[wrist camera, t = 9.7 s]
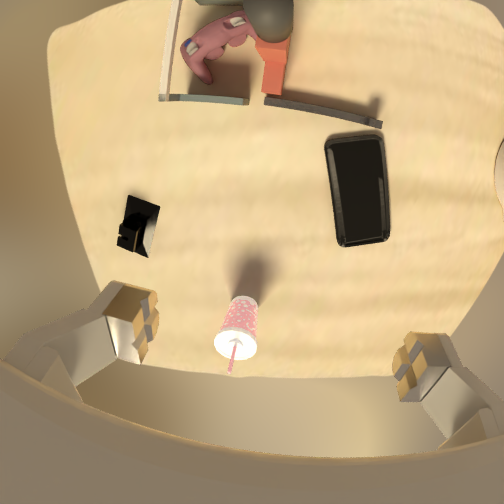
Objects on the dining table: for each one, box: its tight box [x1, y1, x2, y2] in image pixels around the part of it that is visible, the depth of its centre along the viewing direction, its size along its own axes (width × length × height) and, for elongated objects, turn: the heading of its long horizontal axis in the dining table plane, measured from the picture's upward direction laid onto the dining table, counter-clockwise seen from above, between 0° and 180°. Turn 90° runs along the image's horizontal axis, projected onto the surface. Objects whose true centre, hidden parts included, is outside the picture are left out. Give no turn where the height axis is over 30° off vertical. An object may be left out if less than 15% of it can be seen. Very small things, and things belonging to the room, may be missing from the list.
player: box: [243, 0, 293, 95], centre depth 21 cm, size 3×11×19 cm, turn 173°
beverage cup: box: [214, 296, 258, 374], centre depth 42 cm, size 6×6×14 cm
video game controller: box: [180, 10, 257, 85], centre depth 28 cm, size 10×5×7 cm, turn 121°
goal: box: [158, 0, 249, 105], centre depth 26 cm, size 8×15×9 cm, turn 173°
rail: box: [264, 97, 383, 129], centre depth 31 cm, size 14×1×3 cm, turn 83°
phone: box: [324, 135, 390, 247], centre depth 37 cm, size 8×1×15 cm
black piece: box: [117, 195, 160, 258], centre depth 42 cm, size 12×7×5 cm, turn 159°
